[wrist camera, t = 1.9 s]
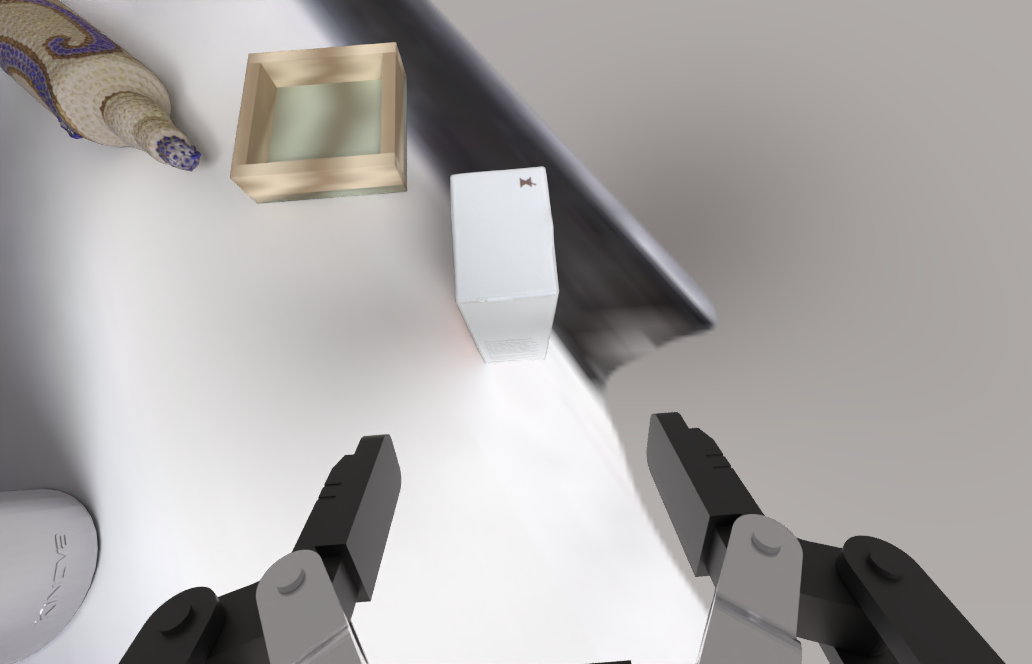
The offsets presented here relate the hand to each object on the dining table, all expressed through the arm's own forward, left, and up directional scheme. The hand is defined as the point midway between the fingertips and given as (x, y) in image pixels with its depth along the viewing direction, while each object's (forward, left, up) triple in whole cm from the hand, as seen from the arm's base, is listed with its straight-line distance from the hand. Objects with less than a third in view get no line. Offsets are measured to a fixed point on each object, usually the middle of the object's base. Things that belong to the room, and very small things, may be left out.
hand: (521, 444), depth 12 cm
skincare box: (0, +8, -13) cm, 16 cm away
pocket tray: (-13, +25, -13) cm, 32 cm away
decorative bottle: (-33, +30, -14) cm, 46 cm away
